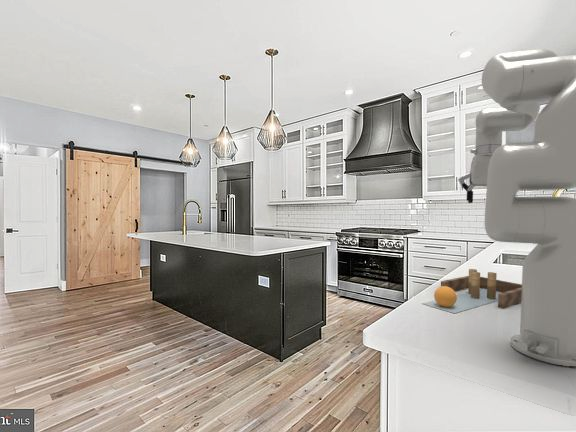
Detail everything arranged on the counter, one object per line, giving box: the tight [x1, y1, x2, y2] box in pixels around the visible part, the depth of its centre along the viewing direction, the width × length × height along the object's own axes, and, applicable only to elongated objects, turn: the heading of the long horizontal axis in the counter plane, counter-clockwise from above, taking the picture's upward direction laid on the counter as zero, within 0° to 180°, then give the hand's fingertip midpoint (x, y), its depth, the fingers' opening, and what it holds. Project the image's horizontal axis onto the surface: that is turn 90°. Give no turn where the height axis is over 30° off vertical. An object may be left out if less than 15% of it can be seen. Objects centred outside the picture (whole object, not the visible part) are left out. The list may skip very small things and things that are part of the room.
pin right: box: [487, 271, 498, 300], centre depth 101 cm, size 2×2×8 cm
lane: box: [421, 288, 502, 314], centre depth 100 cm, size 36×10×1 cm, turn 122°
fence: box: [440, 275, 522, 309], centre depth 105 cm, size 20×20×4 cm
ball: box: [433, 286, 458, 307], centre depth 93 cm, size 6×6×6 cm
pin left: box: [467, 268, 478, 294], centre depth 106 cm, size 2×2×8 cm
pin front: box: [471, 271, 481, 299], centre depth 102 cm, size 2×2×8 cm
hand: (486, 203), depth 106 cm, fingers open, 9 cm apart
